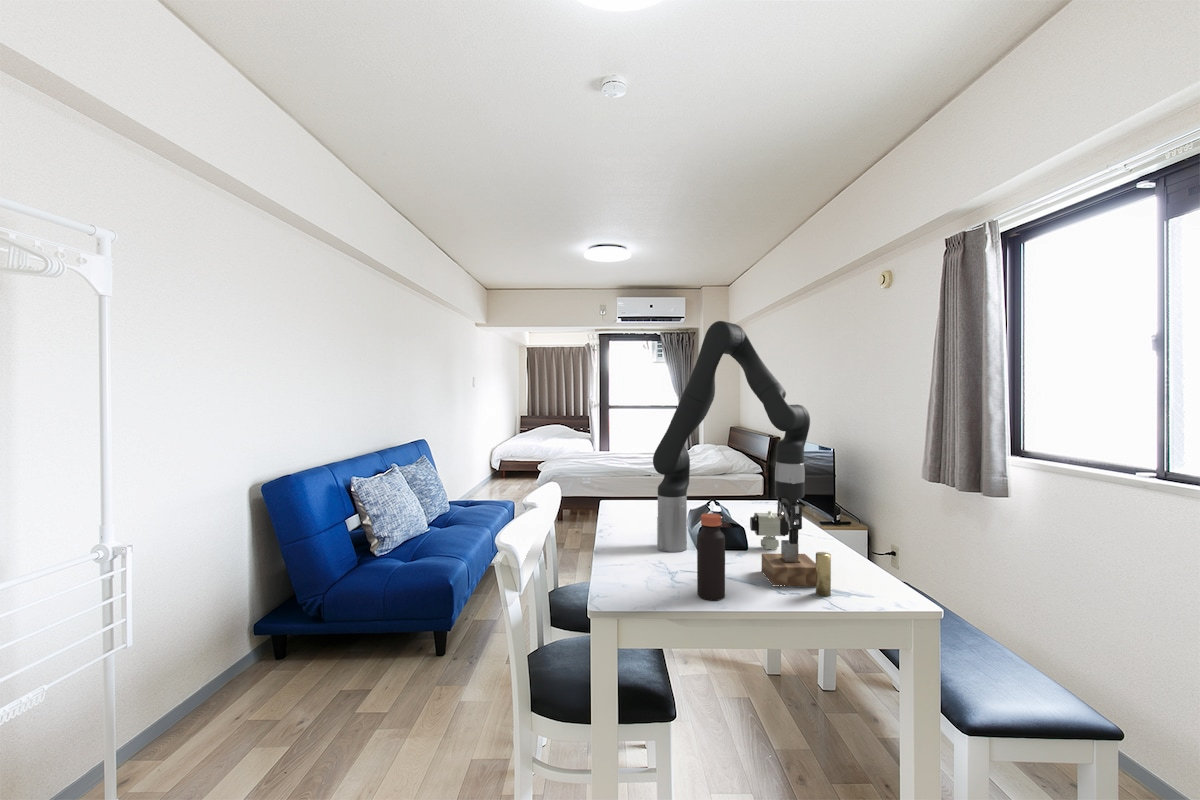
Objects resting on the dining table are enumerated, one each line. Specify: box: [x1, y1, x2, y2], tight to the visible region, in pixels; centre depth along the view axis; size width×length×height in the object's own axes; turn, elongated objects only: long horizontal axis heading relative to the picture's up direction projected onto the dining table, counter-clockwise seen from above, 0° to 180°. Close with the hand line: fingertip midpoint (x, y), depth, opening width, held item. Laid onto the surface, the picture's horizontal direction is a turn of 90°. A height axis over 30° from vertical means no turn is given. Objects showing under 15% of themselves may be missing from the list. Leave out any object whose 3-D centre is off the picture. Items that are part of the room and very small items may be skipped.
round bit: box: [815, 551, 832, 598], centre depth 139 cm, size 4×4×10 cm
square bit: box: [780, 539, 799, 563], centre depth 150 cm, size 4×4×10 cm
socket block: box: [761, 553, 816, 587], centre depth 150 cm, size 12×12×5 cm
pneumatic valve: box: [749, 510, 786, 550], centre depth 178 cm, size 6×12×12 cm, turn 83°
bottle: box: [696, 512, 726, 601], centre depth 138 cm, size 7×7×20 cm
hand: (788, 539), depth 150 cm, fingers open, 8 cm apart
